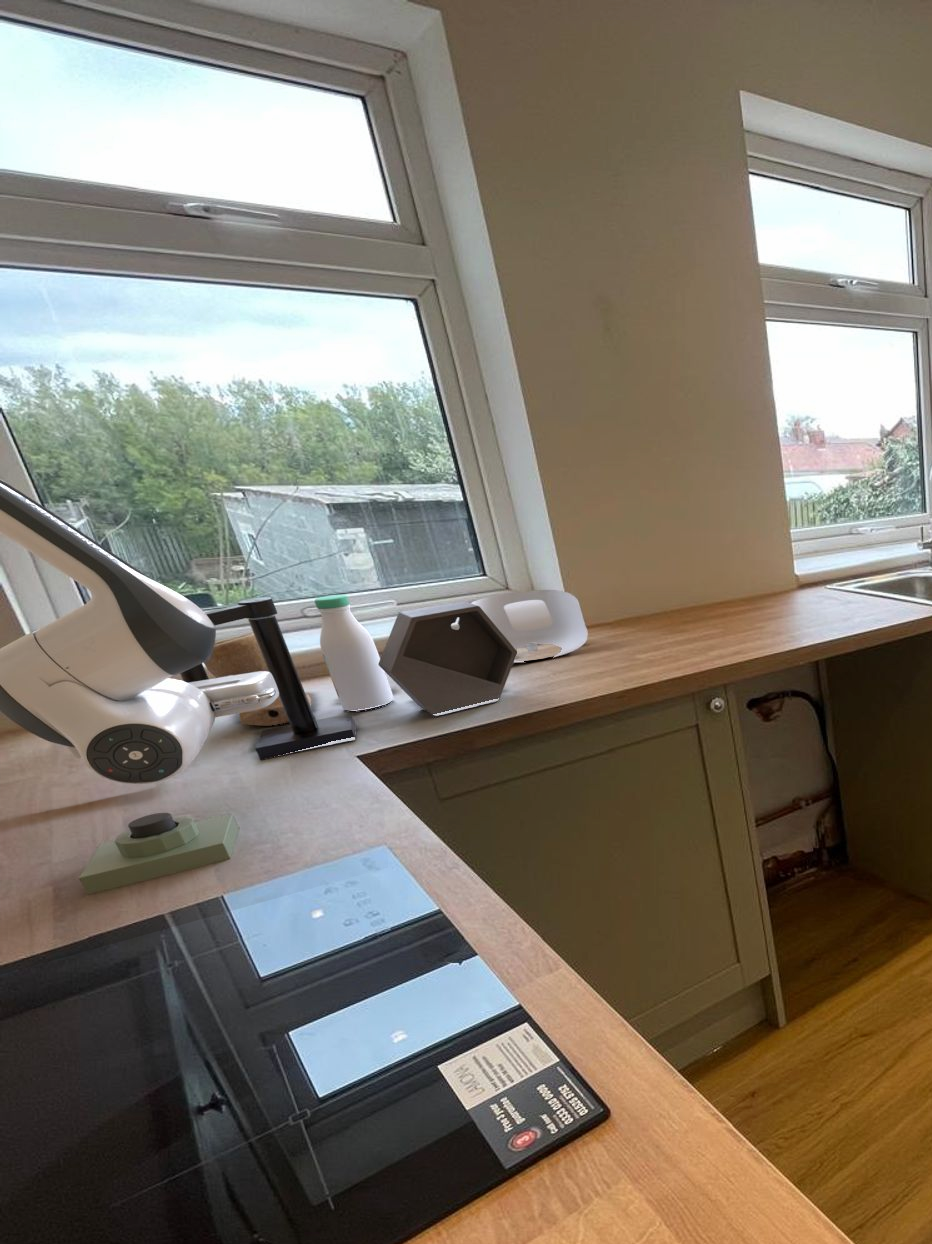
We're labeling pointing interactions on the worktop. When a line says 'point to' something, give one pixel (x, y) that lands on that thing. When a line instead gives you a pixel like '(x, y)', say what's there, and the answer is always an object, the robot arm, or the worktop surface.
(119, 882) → the control block
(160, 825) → the button
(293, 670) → the base
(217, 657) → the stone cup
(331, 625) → the milk bottle
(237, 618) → the spout
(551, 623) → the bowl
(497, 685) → the planter
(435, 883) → the worktop surface
